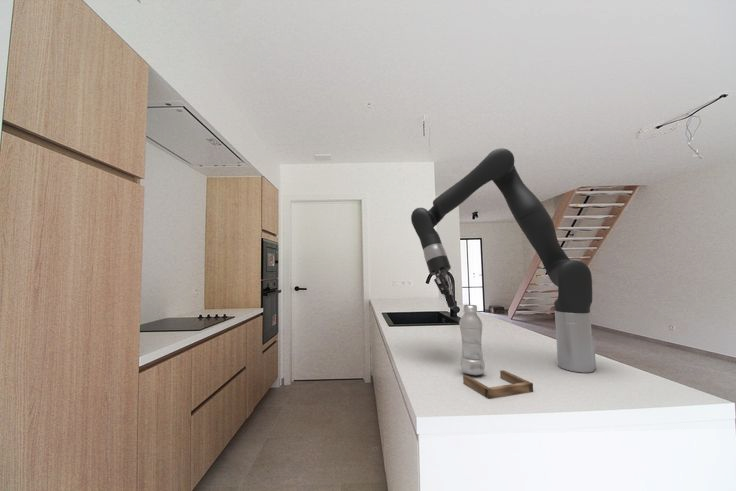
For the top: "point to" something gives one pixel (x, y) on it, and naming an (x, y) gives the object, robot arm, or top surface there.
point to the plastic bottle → (471, 342)
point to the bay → (499, 391)
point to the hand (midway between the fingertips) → (452, 307)
